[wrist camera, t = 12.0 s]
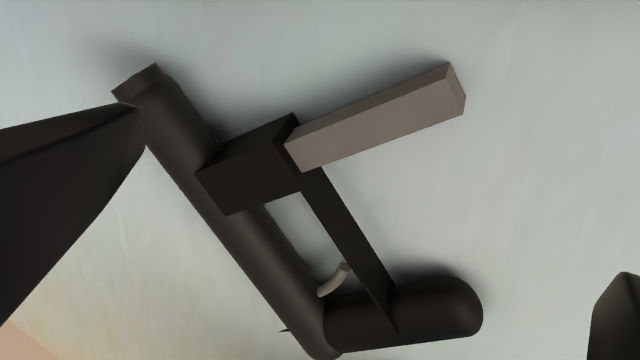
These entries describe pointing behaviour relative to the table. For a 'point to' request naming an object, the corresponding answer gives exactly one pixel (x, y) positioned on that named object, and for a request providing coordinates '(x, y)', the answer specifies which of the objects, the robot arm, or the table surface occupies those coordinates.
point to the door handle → (309, 178)
